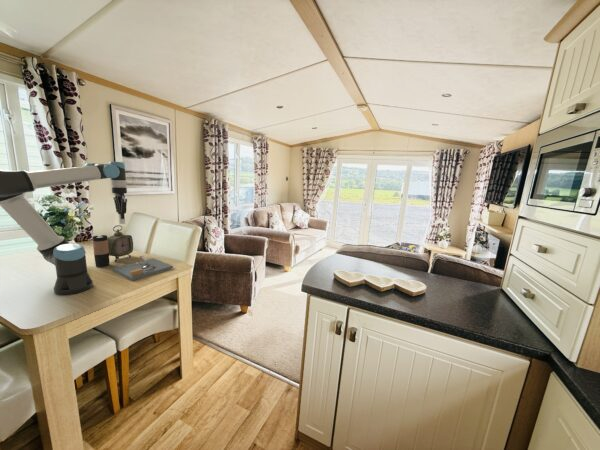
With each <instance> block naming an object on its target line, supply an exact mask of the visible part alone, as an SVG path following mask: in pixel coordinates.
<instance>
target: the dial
mask: <svg viewBox="0 0 600 450" xmlns="http://www.w3.org/2000/svg"><path fill="white" fill-rule="evenodd" d="M148 259H149V258H146V256H144V255H139V262H140V263H141V264H142V265H143V266H142V269H148V268H151V267H153V265H151V264H149V265H148Z"/></svg>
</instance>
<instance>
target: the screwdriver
mask: <svg viewBox="0 0 600 450" xmlns="http://www.w3.org/2000/svg"><path fill="white" fill-rule="evenodd" d="M149 269H153V267H151V268H148V269H144V270H143V269H141V268H140V269H136V270H132V271H129V273H130V276H135V275H139V274H142V273H143V271H146V270H149Z"/></svg>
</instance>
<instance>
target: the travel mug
mask: <svg viewBox="0 0 600 450" xmlns="http://www.w3.org/2000/svg"><path fill="white" fill-rule="evenodd" d="M107 238H108V235H106V234H102V235H100V236H99V235H93V236H92V247H93V255H94V256H93V257H94V263H95V267H96V268H105V267H108V266H110V265H111V264H110V256H109V248H108V239H107Z"/></svg>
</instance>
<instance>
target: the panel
mask: <svg viewBox="0 0 600 450" xmlns="http://www.w3.org/2000/svg"><path fill="white" fill-rule="evenodd" d="M147 259H148V265H149V264H151V265H153V269H149V270H146V271H143V273H142V274H139V275H135V276H130V273H129V271H132V270H136V269H140V268H141V269H142V266H143V265H142V264H141V263H140V261H137V262H131V263H128V264H124V265H119V266H115V267H112V271H113V273H116V274H118V275H120V276H122V277H124V278H125V279H127V280H129V281H131V282H132V281H135V280H139V279H140V280H141V279H143V278H146V277H150V276H153V275H156V274H160V273H163V272H167V271H170V270H172V269H171V268H173V269H174V265H172V264H169V263H167V262H164V261H162V260H159V259H158V258H153V257H152V258H147ZM169 269H170V270H169ZM143 270H144V269H143ZM166 270H167V271H166Z"/></svg>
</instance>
